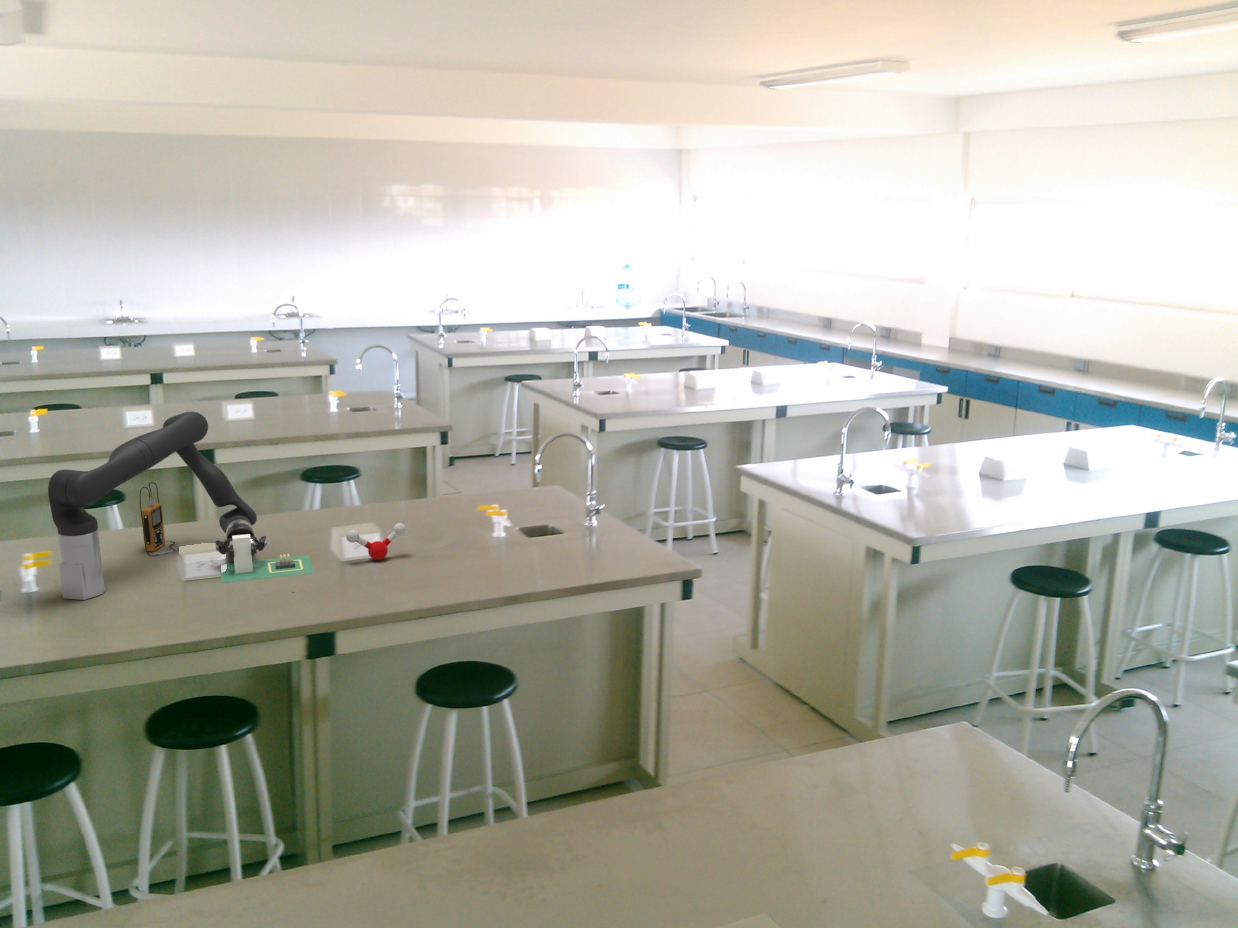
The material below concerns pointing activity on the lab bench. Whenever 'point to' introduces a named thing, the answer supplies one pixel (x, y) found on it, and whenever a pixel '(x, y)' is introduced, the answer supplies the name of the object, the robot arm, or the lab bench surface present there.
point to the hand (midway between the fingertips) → (242, 553)
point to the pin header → (285, 563)
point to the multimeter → (153, 525)
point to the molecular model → (376, 548)
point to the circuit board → (268, 569)
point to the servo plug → (242, 553)
